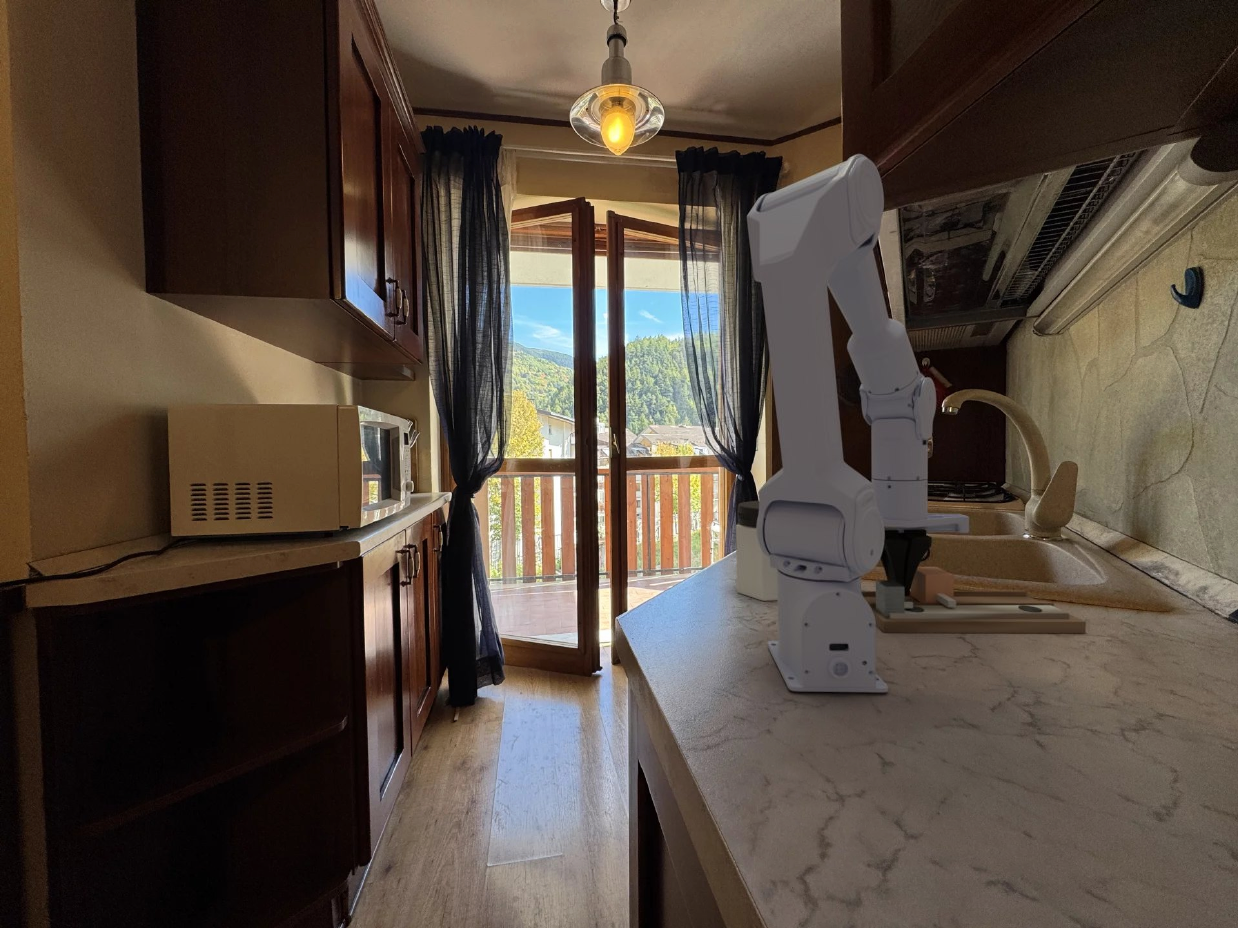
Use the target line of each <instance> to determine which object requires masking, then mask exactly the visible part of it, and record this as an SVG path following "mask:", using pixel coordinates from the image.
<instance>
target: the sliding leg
mask: <svg viewBox="0 0 1238 928" xmlns="http://www.w3.org/2000/svg"><path fill="white" fill-rule="evenodd" d="M954 578H955V577H954V574H953V573H950V572H948V571H946V570H944V569H943V568H940V567H937V566H918V568H917V570H916V573H915V576H914V578H913V582H912V585H911V589H910V591H911V596H912V597H914V598H915V599H917V600H918V601H920V602H922V603H932V602H941V603H942V604H944V605H945V606H947V607H956V601H955V600H954V591H955V589H954V587H955V586H954V584H955V583H954V582H955V579H954Z"/></svg>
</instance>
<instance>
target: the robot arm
mask: <svg viewBox="0 0 1238 928" xmlns="http://www.w3.org/2000/svg"><path fill="white" fill-rule="evenodd" d="M884 205H885V197H884V188H883V183H882V179H881V175H880V173H879V171H878V168H877V166H876V164H875V163H874V162H873V161H872V160H871V159H869V158H868V157H867V156H866V155H864V154H863V153H862V154H861V153H857V154H854V155H852V156H850V157H849V158H848V159H847V160H846V161H843V162H841V163H838V164H836V165H834V166H831V167H829V168H826V169H824V170H822V171H820V172H817V173H814V174H813V175H810V176H808V177H806V178H803V179H801V180H799V181H796V182H794V183H792V184H789V185H787V186H784V187H783V188H780V189H778V190H775V191H774V192H768V193H764V194H762V195H760V197H758V198H757V200H756V201H755V203H754V205H753V206H752V208H751V209H750V211H749V212H748V214H747V215H746V221H747V222H746V223H747V231H748V232H747V233H748V240H749V248H750V256H751V265H752V272H753V279H754V280H755V282H758V283H760V284H761V293H762V299H763V301H762V302H763V308H764V309H763V310H764V316H765V326H766V335H767V343H768V351H769V360H770V367H771V368H770V369H771V377H772V378H771V379H772V387H773V395H774V403H775V404H774V405H775V411H776V413H775V414H776V420H777V428H778V437H779V444H780V446H779V447H780V456H781V462H782V464H781V465H782V467H781V468H780V470H778V471H777V472H776V473H775V474H774V475H772V476H771V477H770V478H769V479H768V480H767V481H765V482H764V484H763V485H762V486H761V487H760V488H759V490H758V492H757V493H758V501H759V515H758V519H757V527H756V530H757V538H758V542H759V545H760V547H761V549H762V551H763V553H764V554H765V555H766V556H768V557H770V567H773V568H776V569H777V585H778V600H777V638H778V639H777V640H768V641H766V642H767V648H768V650H769V652H770V654H771V656H772V658H773V660H774V662H775V664H776V666H777V668H778V670H779V672H780V674H781V676H782V678H783V680H784V682H785V684H786V686H787V689H789V690H790V691H792V692H822V693H823V692H824V693H825V692H827V693H829V692H831V693H833V692H834V693H837V692H838V693H887V692H888V691H889V687H888V684H887V683H885V681H884V680H883V679H882V678H881V677H880V676H879V674H878V673H877V667H876V666H877V642H876V641H877V634H876V633H877V628H876V627H877V626H876V621H875V616H874V613H873V611H872V609H871V607H870V606H869V604H868V603H867V602H866V600H865V599H864V597H863V595H862V592H861V591H862V576H864V575H866V574H869V573H870V572H871V571H872V570H873V568H876V566H877V565H878V563H879V562H880V561H881V564H882V567H883V570H884V573H885V576H886V580H895V581H896V582H898V583H899V584H901V585H903V586H904V596H909V593H910V591H911V585H912V582H913V578H914V576H915V573H916V570H917V568H918V567H920V563H921V562H922V560H923V558H924V556H925V555H926V554H927V552H928V551H929V550H930V548H931V547H932V542H933V538H932V536H930V535H928V534H927V533H958V534H969V532H970V517H969V516H967V515H964V514H961V513H929V512H928V475H929V474H928V473H929V472H928V461H929V459H928V457H929V456H928V453H929V452H928V439H931V438H932V436H933V435H932V434H933V423H934V422H933V421H934V418H935V414H936V408H937V392H936V387H935V386H936V385H935V383H934V381H933V379H932V378H931V377H930V376H929V377H928V376H927V377H925V375H923V373H921V371H920V369H919V366H918V363H917V360H916V357H915V353H914V351H913V348H912V344H911V342H910V339H909V336H908V333H907V330H906V327H905V325H904V324H903V323H902V322H900V321H899V320H896V319H893V318H889V314H888V310H887V306H886V301H885V297H884V292H883V289H882V284H881V280H880V276H879V271H878V266H877V262H876V258H875V254H874V250H873V249H874V248H875V246H876V244H877V242H878V240H879V236H880V232H881V226H882V218H883V215H884ZM828 290H829V291H830V293H831V295H832V297H833V299H834V301H835V302H836V304H837V306H838V308H839V310H840V312H841V313H842V315H843V317H844V319H845V321H846V323H847V324H848V326H849V328H850V330H851V333H852V334H851V336H850V338H849V339H848V342H847V346H846V349H847V352H848V354H849V356H850V359H851V361H852V364H853V365H854V368H855V372H856V373H857V376H858V377H859V378H858V379H859V380H860V383H861V384H860V387H859V395H860V400H861V412H862V416H863V419H864V420H865V422H866V423H867V424H868V426H871V428H870V429H871V431H870V432H871V438H870V439H871V481H870V480H868V479H867V478H866V477H865V476H863V475H862V474H861V473H860V472H858V471H857V470H855V469H854V468H853V467H851V466H850V465H848V464H847V463H846V462H845V461H844V452H843V451H844V450H843V440H842V439H843V438H842V430H841V420H840V419H841V418H840V410H839V408H840V407H839V398H838V387H837V378H836V366H835V358H834V356H835V355H834V346H833V344H834V343H833V336H832V335H833V334H832V326H831V324H832V323H831V316H830V315H831V312H830V303H829V294H828V293H829V291H828Z"/></svg>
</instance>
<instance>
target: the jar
mask: <svg viewBox="0 0 1238 928" xmlns="http://www.w3.org/2000/svg"><path fill="white" fill-rule="evenodd" d="M736 513H737V514H736V515H737V524H735V538H736V540H735V543H736V544H735V545H736V550H735V551H736V591H737V593H738V594H741V595H744V596H746V597H750V598H753V599H756V600H759V601H762V602H770V601H778V585H777V569H776V568H773V567H770V557H768V556H766V555H765V554H764V553H763V551H762V549H761V547H760V545H759V542H758V538H757V530H756V527H757V519H758V515H759V500H752V501H751V500H750V501H745V502H740V503H738V505H737V512H736Z"/></svg>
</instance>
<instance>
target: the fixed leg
mask: <svg viewBox="0 0 1238 928" xmlns="http://www.w3.org/2000/svg"><path fill="white" fill-rule="evenodd" d="M875 591H876V611H877V612H878V613H879V614H880V615H881V616H883V617H884V618H885V619H890V613H904V608H913V602H912V601H911V600H904V586H903V585H901V584H899V583H898V582H896V581H895V580H887V579H886V580H884V579H883V580H882V579H881V580H877V579H876V580H875Z"/></svg>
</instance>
